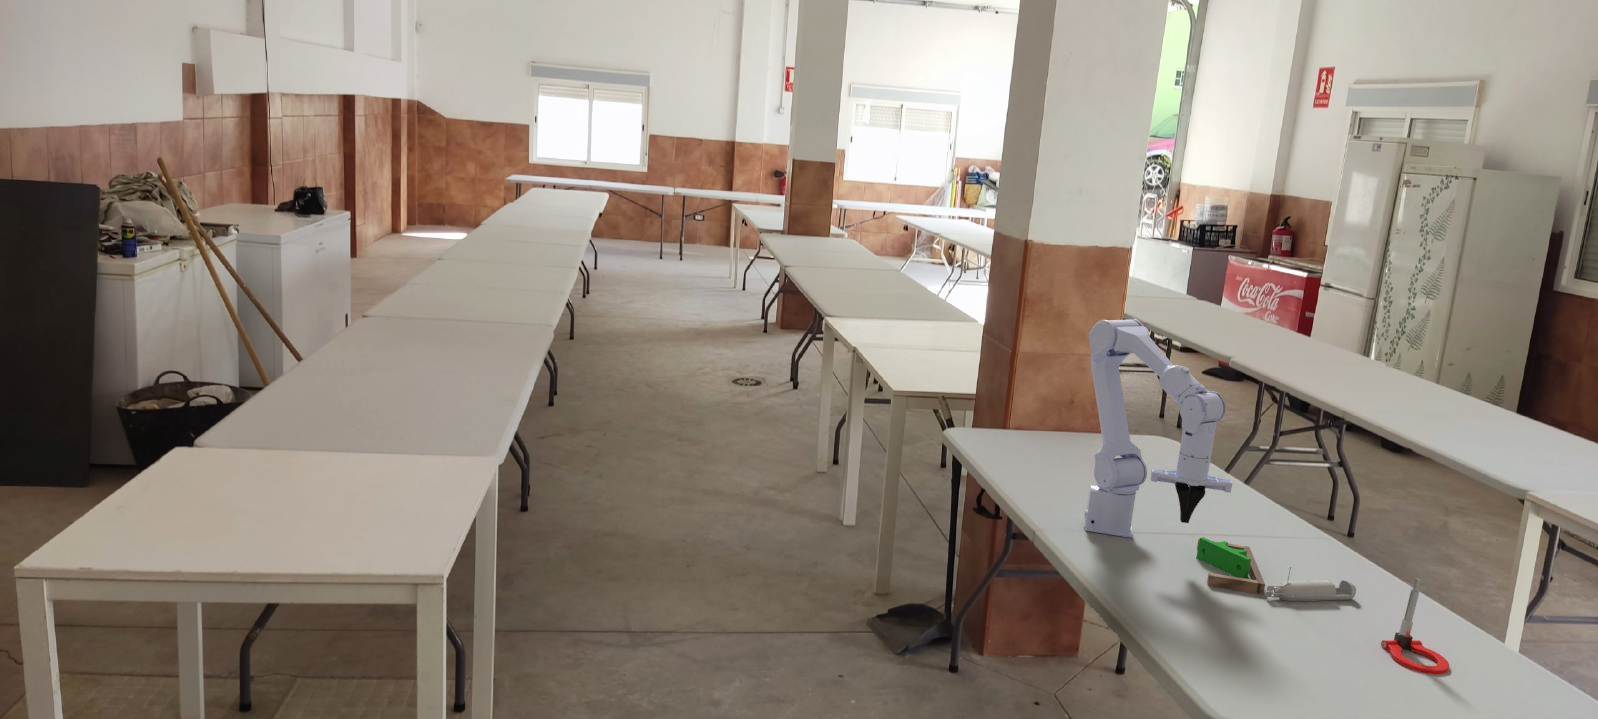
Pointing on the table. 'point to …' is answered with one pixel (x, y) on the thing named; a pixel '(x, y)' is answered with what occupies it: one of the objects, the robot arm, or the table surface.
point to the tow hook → (1413, 642)
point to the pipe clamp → (1224, 557)
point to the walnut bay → (1236, 583)
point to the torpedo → (1312, 590)
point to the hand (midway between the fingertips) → (1184, 521)
